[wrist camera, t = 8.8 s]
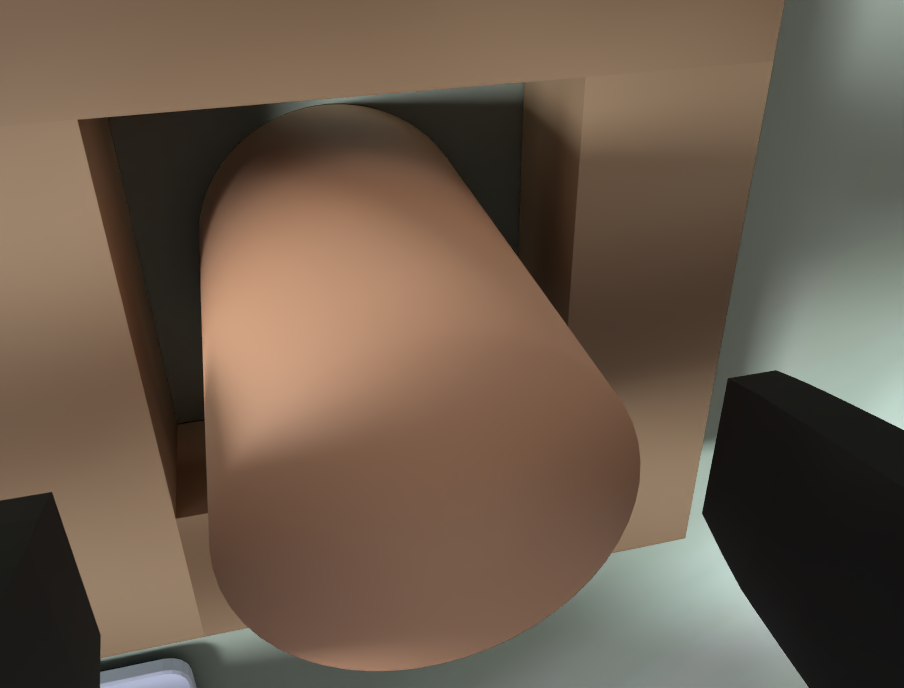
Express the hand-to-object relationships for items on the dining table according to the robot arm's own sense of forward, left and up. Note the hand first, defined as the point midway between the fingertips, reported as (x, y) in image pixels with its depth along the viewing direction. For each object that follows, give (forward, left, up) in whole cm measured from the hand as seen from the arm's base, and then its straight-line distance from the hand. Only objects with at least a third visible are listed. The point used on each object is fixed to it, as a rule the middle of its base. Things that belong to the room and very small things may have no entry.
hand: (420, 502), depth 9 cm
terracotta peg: (0, 0, -7) cm, 7 cm away
